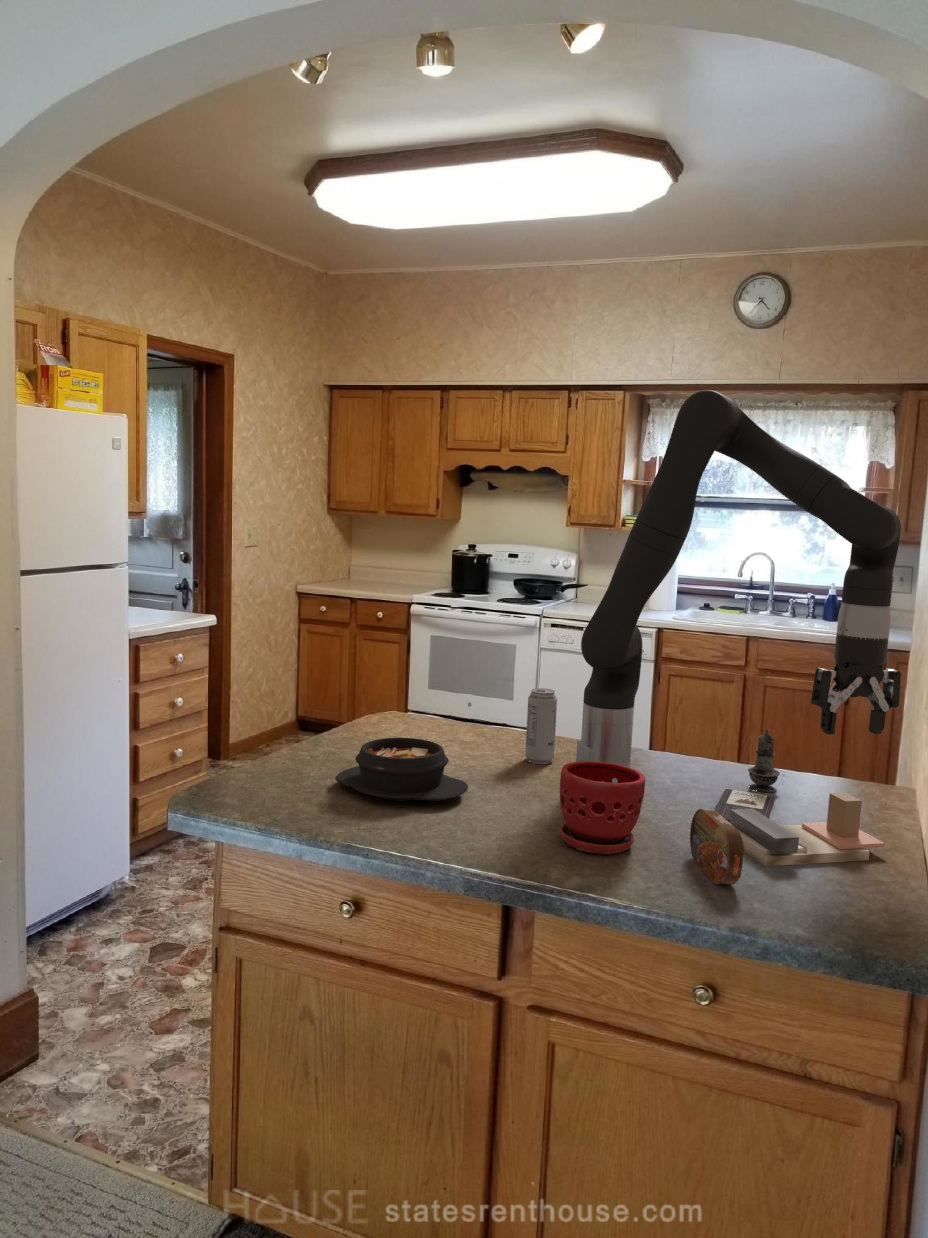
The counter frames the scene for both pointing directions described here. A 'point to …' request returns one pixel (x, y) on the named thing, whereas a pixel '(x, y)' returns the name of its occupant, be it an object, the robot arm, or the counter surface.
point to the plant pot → (600, 805)
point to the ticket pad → (813, 851)
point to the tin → (716, 847)
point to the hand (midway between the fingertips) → (851, 733)
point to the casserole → (402, 771)
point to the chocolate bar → (744, 802)
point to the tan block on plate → (843, 824)
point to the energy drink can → (541, 726)
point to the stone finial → (764, 766)
